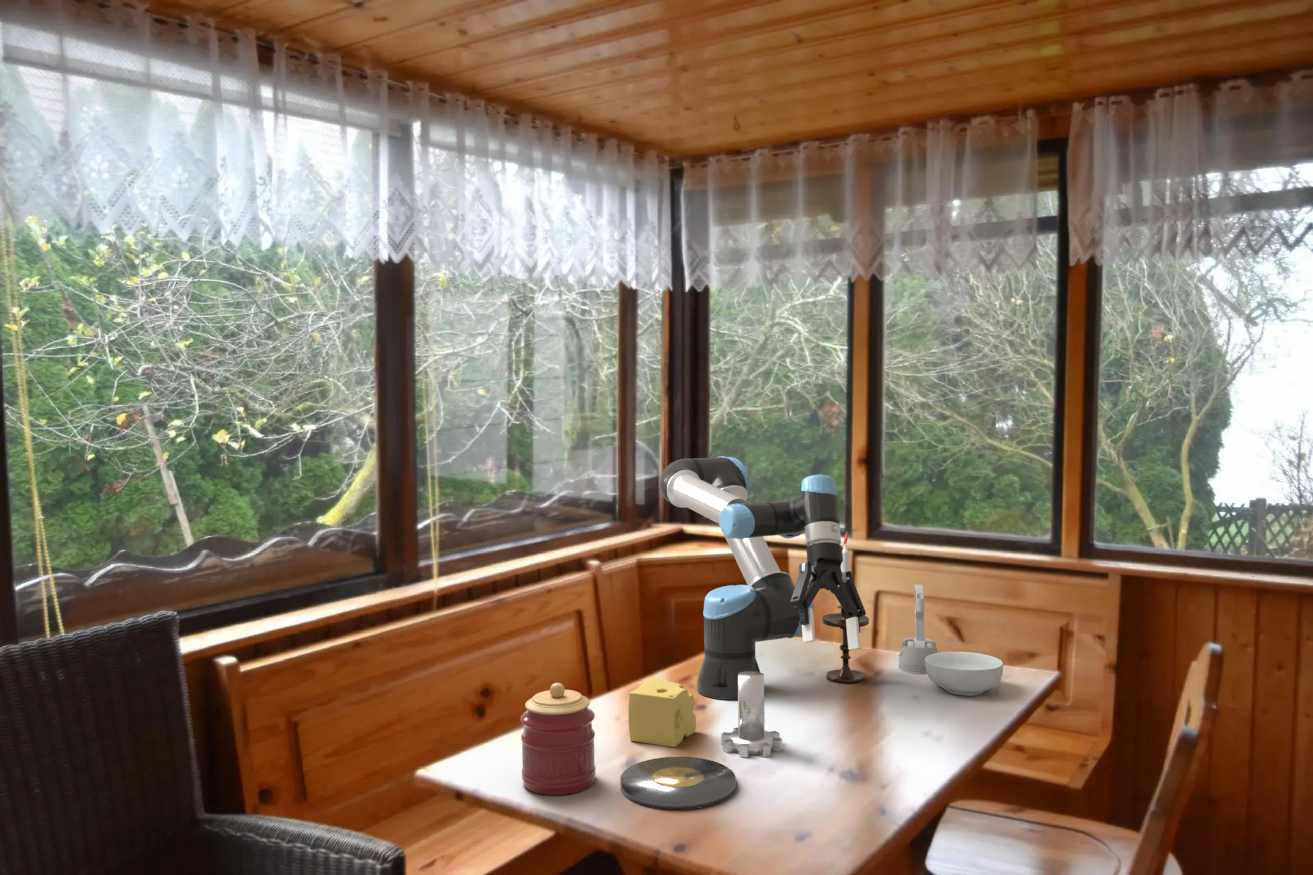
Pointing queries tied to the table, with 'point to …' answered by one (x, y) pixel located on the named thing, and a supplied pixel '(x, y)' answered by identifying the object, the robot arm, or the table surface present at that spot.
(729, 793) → the carrier plate
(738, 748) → the sun gear
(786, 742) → the table surface
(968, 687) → the cereal bowl
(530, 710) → the canister
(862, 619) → the candlestick
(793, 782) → the table surface
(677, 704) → the cheese
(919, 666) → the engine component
